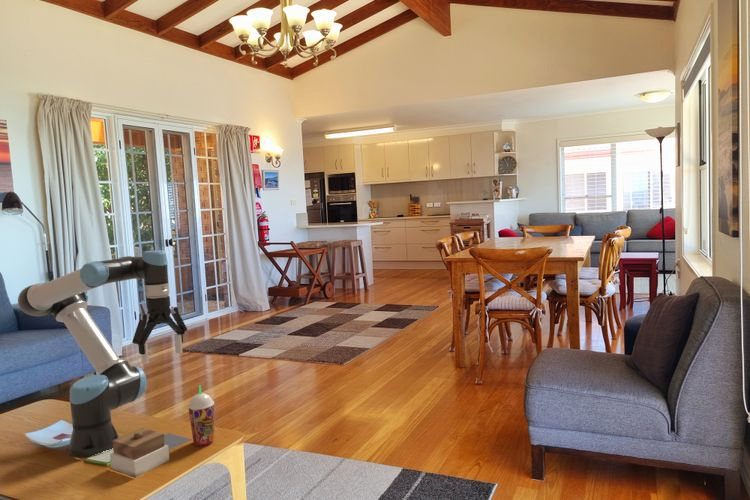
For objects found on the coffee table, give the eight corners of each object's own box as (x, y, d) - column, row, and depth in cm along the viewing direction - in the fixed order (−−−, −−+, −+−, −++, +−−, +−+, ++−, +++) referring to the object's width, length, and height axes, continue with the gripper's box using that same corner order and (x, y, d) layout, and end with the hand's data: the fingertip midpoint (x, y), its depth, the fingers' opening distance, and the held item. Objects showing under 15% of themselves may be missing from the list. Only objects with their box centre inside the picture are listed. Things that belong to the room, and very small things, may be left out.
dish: (111, 469, 172) (109, 453, 171) (145, 453, 182) (143, 438, 182) (135, 477, 166) (134, 461, 165) (169, 461, 176) (168, 445, 175)
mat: (139, 447, 187) (138, 446, 187) (168, 434, 197) (168, 432, 197) (162, 454, 181) (162, 453, 181) (192, 440, 191) (191, 439, 191)
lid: (113, 453, 172) (112, 436, 171) (143, 439, 181) (142, 424, 180) (135, 460, 166) (133, 443, 166) (164, 446, 175) (163, 430, 175)
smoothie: (209, 449, 183) (205, 390, 181) (186, 448, 184) (181, 389, 183) (221, 438, 191) (217, 381, 189) (199, 437, 193) (194, 381, 191)
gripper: (131, 303, 176) (137, 369, 177) (194, 290, 197) (199, 349, 199) (117, 302, 179) (122, 366, 181) (180, 289, 201) (184, 347, 202)
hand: (162, 358), depth 190 cm, fingers open, 13 cm apart
